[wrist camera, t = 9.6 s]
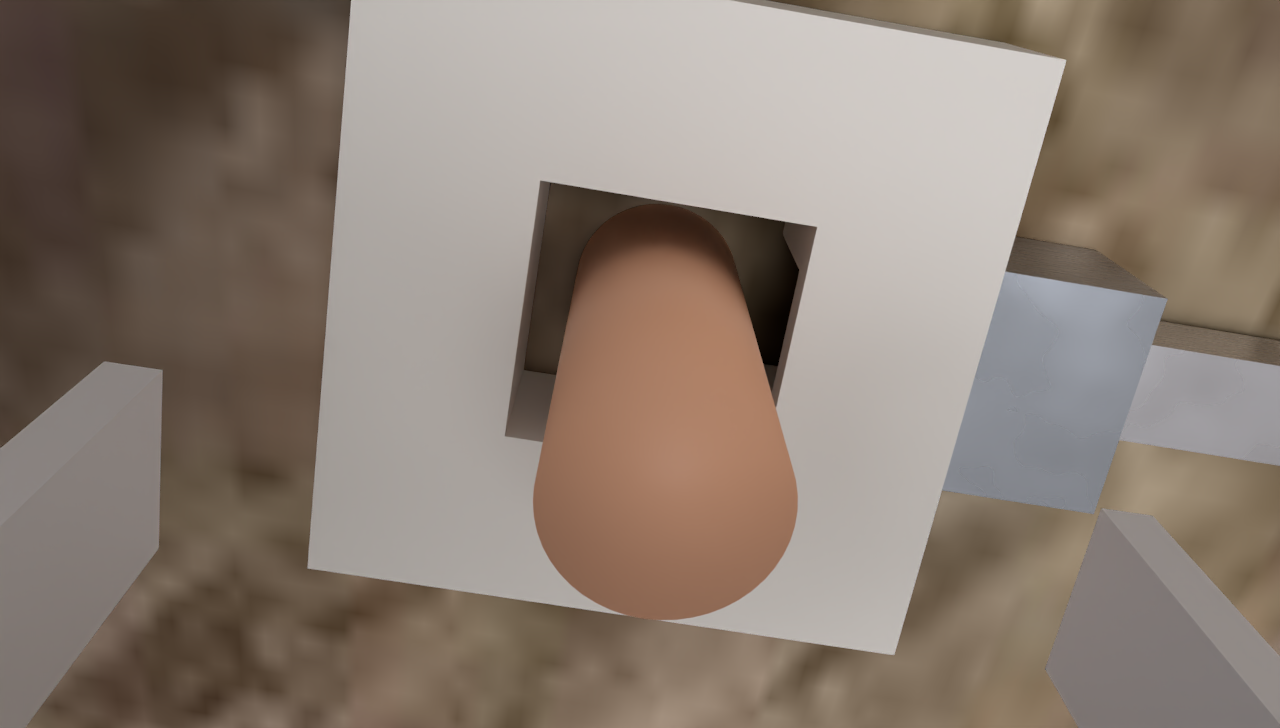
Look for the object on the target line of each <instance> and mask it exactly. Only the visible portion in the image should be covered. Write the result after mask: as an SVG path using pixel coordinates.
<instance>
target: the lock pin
mask: <svg viewBox="0 0 1280 728" xmlns="http://www.w3.org/2000/svg"><path fill="white" fill-rule="evenodd" d="M1119 440H1123V441H1129V442H1135V443H1141V444H1148V445H1154V446H1160V447H1166V448H1173V449H1179V450H1185V451H1191V452H1198V453H1204V454H1210V455H1216V456H1223V457H1229V458H1235V459H1241V460H1248V461H1254V462H1260V463H1266V464H1273V465H1279V466H1280V341H1277V340H1271V339H1265V338H1259V337H1253V336H1247V335H1241V334H1235V333H1229V332H1223V331H1217V330H1211V329H1205V328H1199V327H1193V326H1187V325H1181V324H1175V323H1169V322H1163V321H1160V322H1159V325H1158V328H1157V331H1156V334H1155V337H1154V340H1153V343H1152V345H1151V348H1150V351H1149V354H1148V357H1147V360H1146V363H1145V366H1144V369H1143V372H1142V375H1141V377H1140V380H1139V383H1138V386H1137V389H1136V392H1135V395H1134V398H1133V401H1132V404H1131V407H1130V410H1129V412H1128V415H1127V418H1126V421H1125V424H1124V427H1123V430H1122V433H1121V436H1120V439H1119Z"/></svg>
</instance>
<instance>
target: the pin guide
mask: <svg viewBox="0 0 1280 728" xmlns="http://www.w3.org/2000/svg"><path fill="white" fill-rule="evenodd" d="M1166 302H1167V298H1166V297H1164V296H1163V295H1161V294H1160V293H1158V292H1157V291H1155V290H1154V289H1152V288H1151V287H1149V286H1148V285H1146V284H1145V283H1144V282H1142V281H1141V280H1139V279H1138V278H1136V277H1135V276H1133V275H1132V274H1130V273H1129V272H1127V271H1126V270H1125V269H1123V268H1122V267H1120V266H1119V265H1117V264H1116V263H1114V262H1113V261H1111V260H1110V259H1108V258H1107V257H1105V256H1104V255H1103V254H1101V253H1100V252H1098V251H1097V250H1092V249H1086V248H1080V247H1074V246H1069V245H1063V244H1057V243H1051V242H1045V241H1039V240H1033V239H1027V238H1021V237H1015V240H1014V243H1013V246H1012V250H1011V253H1010V257H1009V260H1008V264H1007V267H1006V271H1005V274H1004V277H1003V281H1002V284H1001V288H1000V291H999V295H998V298H997V302H996V305H995V309H994V312H993V315H992V319H991V322H990V326H989V329H988V333H987V336H986V340H985V343H984V347H983V350H982V353H981V357H980V360H979V364H978V367H977V371H976V374H975V378H974V381H973V385H972V388H971V391H970V395H969V398H968V402H967V405H966V409H965V412H964V416H963V419H962V423H961V426H960V429H959V433H958V436H957V440H956V443H955V447H954V450H953V454H952V457H951V461H950V464H949V467H948V471H947V474H946V478H945V481H944V485H943V488H942V490H944V491H950V492H956V493H963V494H969V495H976V496H982V497H988V498H995V499H1001V500H1008V501H1014V502H1020V503H1027V504H1033V505H1040V506H1046V507H1052V508H1059V509H1065V510H1072V511H1078V512H1084V513H1091V514H1094V511H1095V508H1096V506H1097V503H1098V500H1099V497H1100V494H1101V491H1102V488H1103V485H1104V482H1105V479H1106V476H1107V474H1108V471H1109V468H1110V465H1111V462H1112V459H1113V456H1114V453H1115V450H1116V447H1117V444H1118V442H1119V439H1120V436H1121V433H1122V430H1123V427H1124V424H1125V421H1126V418H1127V415H1128V412H1129V410H1130V407H1131V404H1132V401H1133V398H1134V395H1135V392H1136V389H1137V386H1138V383H1139V380H1140V377H1141V375H1142V372H1143V369H1144V366H1145V363H1146V360H1147V357H1148V354H1149V351H1150V348H1151V345H1152V343H1153V340H1154V337H1155V334H1156V331H1157V328H1158V325H1159V322H1160V319H1161V316H1162V313H1163V311H1164V308H1165V305H1166Z"/></svg>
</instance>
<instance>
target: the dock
mask: <svg viewBox="0 0 1280 728" xmlns="http://www.w3.org/2000/svg"><path fill="white" fill-rule="evenodd" d="M1065 63H1066V60H1065V59H1061V58H1057V57H1054V56H1050V55H1047V54H1043V53H1039V52H1036V51H1032V50H1029V49H1025V48H1021V47H1018V46H1014V45H1011V44H1007V43H1003V42H998V41H992V40H986V39H981V38H975V37H970V36H964V35H958V34H953V33H947V32H941V31H936V30H930V29H925V28H919V27H913V26H908V25H902V24H897V23H891V22H885V21H880V20H874V19H869V18H863V17H857V16H852V15H846V14H840V13H835V12H829V11H824V10H818V9H812V8H807V7H801V6H796V5H790V4H784V3H779V2H773V1H767V0H351V10H350V23H349V36H348V49H347V62H346V75H345V88H344V101H343V114H342V127H341V140H340V153H339V166H338V179H337V192H336V205H335V218H334V231H333V244H332V257H331V269H330V282H329V295H328V308H327V321H326V334H325V347H324V360H323V373H322V386H321V399H320V412H319V425H318V438H317V451H316V464H315V477H314V490H313V503H312V516H311V529H310V542H309V555H308V569H315V570H322V571H329V572H335V573H342V574H349V575H356V576H362V577H369V578H376V579H383V580H389V581H396V582H403V583H410V584H417V585H423V586H430V587H437V588H444V589H450V590H457V591H464V592H471V593H477V594H484V595H491V596H498V597H504V598H511V599H518V600H525V601H531V602H538V603H545V604H552V605H558V606H565V607H572V608H579V609H585V610H592V611H599V612H606V613H612V614H619V615H624V614H621V613H618V612H615V611H612V610H610V609H608V608H605V607H603V606H601V605H599V604H597V603H595V602H594V601H592V600H590V599H589V598H587V597H586V596H584V595H582V594H581V593H580V592H579V591H577V590H576V589H575V588H574V587H572V586H571V585H570V584H569V583H568V582H567V581H566V580H565V579H564V578H563V577H562V576H561V575H560V573H559V572H558V571H557V569H556V568H555V567H554V565H553V564H552V563H551V561H550V560H549V558H548V556H547V554H546V552H545V550H544V549H543V547H542V544H541V541H540V539H539V536H538V533H537V529H536V525H535V520H534V512H533V493H534V484H535V479H536V474H537V469H538V464H539V459H540V454H541V449H542V444H543V439H544V434H545V429H546V424H547V419H548V414H549V409H550V404H551V399H552V394H553V389H554V384H555V379H556V375H552V374H546V373H540V372H534V371H527V370H524V364H525V357H526V350H527V343H528V336H529V329H530V322H531V315H532V308H533V301H534V294H535V287H536V280H537V273H538V266H539V259H540V252H541V245H542V238H543V231H544V224H545V216H546V209H547V202H548V195H549V188H550V182H553V183H559V184H565V185H571V186H577V187H582V188H588V189H594V190H600V191H606V192H612V193H618V194H624V195H630V196H636V197H642V198H648V199H654V200H660V201H666V202H672V203H678V204H684V205H690V206H696V207H702V208H708V209H714V210H720V211H725V212H731V213H737V214H743V215H749V216H755V217H761V218H767V219H773V220H779V221H785V225H784V229H783V236H784V239H785V241H786V243H787V245H788V247H789V249H790V251H791V253H792V256H793V258H794V260H795V262H796V264H797V266H798V268H799V275H798V279H797V283H796V288H795V292H794V297H793V301H792V306H791V310H790V315H789V319H788V323H787V328H786V332H785V337H784V341H783V346H782V350H781V355H780V359H779V364H778V366H774V365H768V364H763V365H764V369H765V372H766V376H767V379H768V383H769V386H770V390H771V393H772V397H773V400H774V404H775V407H776V411H777V414H778V418H779V421H780V425H781V429H782V432H783V436H784V439H785V443H786V446H787V450H788V453H789V457H790V460H791V464H792V467H793V471H794V475H795V478H796V484H797V492H798V511H797V517H796V523H795V528H794V531H793V534H792V537H791V540H790V542H789V545H788V547H787V549H786V551H785V553H784V555H783V556H782V558H781V559H780V561H779V562H778V564H777V565H776V567H775V568H774V570H773V571H772V572H771V573H770V574H769V575H768V576H767V578H766V579H765V580H764V581H763V582H762V583H760V584H759V585H758V586H757V587H756V588H755V589H754V590H753V591H751V592H750V593H748V594H747V595H745V596H744V597H742V598H741V599H739V600H738V601H736V602H734V603H732V604H730V605H728V606H726V607H724V608H722V609H719V610H717V611H714V612H711V613H709V614H705V615H701V616H697V617H693V618H686V619H678V620H660V621H666V622H673V623H680V624H687V625H694V626H700V627H707V628H714V629H721V630H727V631H734V632H741V633H748V634H754V635H761V636H768V637H775V638H781V639H788V640H795V641H802V642H808V643H815V644H822V645H829V646H835V647H842V648H849V649H856V650H862V651H869V652H876V653H883V654H889V655H894V654H895V650H896V647H897V644H898V640H899V637H900V633H901V630H902V626H903V623H904V619H905V616H906V612H907V609H908V606H909V602H910V599H911V595H912V592H913V588H914V585H915V581H916V578H917V574H918V571H919V568H920V564H921V561H922V557H923V554H924V550H925V547H926V543H927V540H928V536H929V533H930V530H931V526H932V523H933V519H934V516H935V512H936V509H937V505H938V502H939V499H940V495H941V492H942V488H943V485H944V481H945V478H946V474H947V471H948V467H949V464H950V461H951V457H952V454H953V450H954V447H955V443H956V440H957V436H958V433H959V429H960V426H961V423H962V419H963V416H964V412H965V409H966V405H967V402H968V398H969V395H970V391H971V388H972V385H973V381H974V378H975V374H976V371H977V367H978V364H979V360H980V357H981V353H982V350H983V347H984V343H985V340H986V336H987V333H988V329H989V326H990V322H991V319H992V315H993V312H994V309H995V305H996V302H997V298H998V295H999V291H1000V288H1001V284H1002V281H1003V277H1004V274H1005V271H1006V267H1007V264H1008V260H1009V257H1010V253H1011V250H1012V246H1013V243H1014V240H1015V236H1016V233H1017V229H1018V226H1019V222H1020V219H1021V215H1022V212H1023V208H1024V205H1025V202H1026V198H1027V195H1028V191H1029V188H1030V184H1031V181H1032V177H1033V174H1034V170H1035V167H1036V164H1037V160H1038V157H1039V153H1040V150H1041V146H1042V143H1043V139H1044V136H1045V132H1046V129H1047V126H1048V122H1049V119H1050V115H1051V112H1052V108H1053V105H1054V101H1055V98H1056V94H1057V91H1058V88H1059V84H1060V81H1061V77H1062V74H1063V70H1064V67H1065ZM626 616H628V615H626Z"/></svg>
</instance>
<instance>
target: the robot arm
mask: <svg viewBox="0 0 1280 728" xmlns="http://www.w3.org/2000/svg"><path fill="white" fill-rule="evenodd" d="M162 375H163V370H159V369H153V368H146V367H139V366H132V365H125V364H119V363H112V362H105V361H104V362H103V363H102V364H100V365H99V366H98V367H97V368H96V369H94V370H93V371H92V372H91V373H90V374H88V375H87V376H86V377H85V378H84V379H83V380H81V381H80V382H79V383H78V384H77V385H75V386H74V387H73V388H72V389H71V390H69V391H68V392H67V393H66V394H65V395H63V396H62V397H61V398H60V399H59V400H57V401H56V402H55V403H54V404H53V405H51V406H50V407H49V408H48V409H47V410H46V411H44V412H43V413H42V414H41V415H40V416H38V417H37V418H36V419H35V420H34V421H32V422H31V423H30V424H29V425H28V426H26V427H25V428H24V429H23V430H22V431H20V432H19V433H18V434H17V435H16V436H15V437H13V438H12V439H11V440H10V441H9V442H7V443H6V444H5V445H4V446H3V447H1V448H0V728H25V727H26V726H27V724H28V723H29V722H30V720H31V719H32V718H33V716H34V715H35V714H36V712H37V711H38V710H39V708H40V707H41V706H42V704H43V703H44V702H45V700H46V699H47V698H48V696H49V695H50V694H51V692H52V691H53V690H54V688H55V687H56V686H57V684H58V683H59V682H60V680H61V679H62V677H63V676H64V675H65V673H66V672H67V671H68V669H69V668H70V667H71V665H72V664H73V663H74V661H75V660H76V659H77V657H78V656H79V655H80V653H81V652H82V651H83V649H84V648H85V647H86V645H87V644H88V643H89V641H90V640H91V639H92V637H93V636H94V635H95V633H96V632H97V631H98V629H99V628H100V627H101V625H102V624H103V622H104V621H105V620H106V618H107V617H108V616H109V614H110V613H111V612H112V610H113V609H114V608H115V606H116V605H117V604H118V602H119V601H120V600H121V598H122V597H123V596H124V594H125V593H126V592H127V590H128V589H129V588H130V586H131V585H132V584H133V582H134V581H135V580H136V578H137V577H138V576H139V574H140V573H141V572H142V570H143V569H144V568H145V566H146V565H147V563H148V562H149V561H150V559H151V558H152V557H153V555H154V554H155V553H156V551H157V550H158V549H159V513H160V467H161V421H162ZM1045 670H1046V672H1047V673H1048V675H1049V677H1050V679H1051V680H1052V682H1053V684H1054V686H1055V687H1056V689H1057V691H1058V693H1059V694H1060V696H1061V698H1062V700H1063V701H1064V703H1065V705H1066V707H1067V708H1068V710H1069V712H1070V714H1071V715H1072V717H1073V719H1074V721H1075V722H1076V724H1077V726H1078V728H1280V656H1279V655H1278V654H1277V653H1276V652H1275V651H1274V650H1273V648H1272V647H1271V646H1270V645H1269V644H1268V643H1267V642H1266V641H1265V640H1264V638H1263V637H1262V636H1261V635H1260V634H1259V633H1258V632H1257V631H1256V630H1255V629H1254V627H1253V626H1252V625H1251V624H1250V623H1249V622H1248V621H1247V620H1246V619H1245V617H1244V616H1243V615H1242V614H1241V613H1240V612H1239V611H1238V610H1237V609H1236V607H1235V606H1234V605H1233V604H1232V603H1231V602H1230V601H1229V600H1228V599H1227V598H1226V596H1225V595H1224V594H1223V593H1222V592H1221V591H1220V590H1219V589H1218V588H1217V586H1216V585H1215V584H1214V583H1213V582H1212V581H1211V580H1210V579H1209V578H1208V576H1207V575H1206V574H1205V573H1204V572H1203V571H1202V570H1201V569H1200V568H1199V566H1198V565H1197V564H1196V563H1195V562H1194V561H1193V560H1192V559H1191V558H1190V557H1189V555H1188V554H1187V553H1186V552H1185V551H1184V550H1183V549H1182V548H1181V547H1180V545H1179V544H1178V543H1177V542H1176V541H1175V540H1174V539H1173V538H1172V537H1171V535H1170V534H1169V533H1168V532H1167V531H1166V530H1165V529H1164V528H1163V527H1162V526H1161V524H1160V523H1159V522H1158V521H1157V520H1156V519H1155V518H1154V517H1153V516H1151V515H1144V514H1137V513H1130V512H1124V511H1117V510H1110V509H1103V508H1101V511H1100V514H1099V516H1098V519H1097V522H1096V525H1095V528H1094V531H1093V534H1092V536H1091V539H1090V542H1089V545H1088V548H1087V551H1086V553H1085V556H1084V559H1083V562H1082V565H1081V568H1080V571H1079V573H1078V576H1077V579H1076V582H1075V585H1074V588H1073V591H1072V593H1071V596H1070V599H1069V602H1068V605H1067V608H1066V611H1065V613H1064V616H1063V619H1062V622H1061V625H1060V628H1059V630H1058V633H1057V636H1056V639H1055V642H1054V645H1053V648H1052V650H1051V653H1050V656H1049V659H1048V662H1047V665H1046V668H1045Z"/></svg>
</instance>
